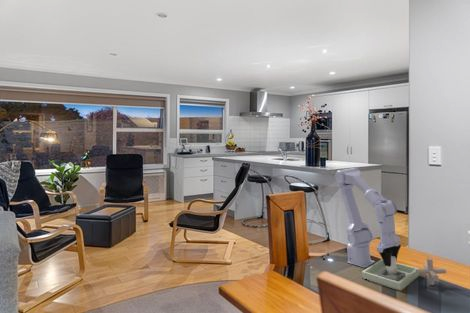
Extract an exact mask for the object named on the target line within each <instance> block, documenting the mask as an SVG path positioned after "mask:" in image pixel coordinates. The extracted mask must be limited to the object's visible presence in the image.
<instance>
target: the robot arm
mask: <svg viewBox="0 0 470 313" xmlns="http://www.w3.org/2000/svg"><path fill="white" fill-rule="evenodd" d="M334 179H335V183H336V185H337V188H338V189H339V191H340V195H341V199H342V201H343V205H344V207H345V211H346V214H347V218H348V221H349V226H348V228H347V229H346V234H347V235H346V236H347V241H348V244H347V245H346V246H347V247H346V251H347V252H346V253H347V263H348V264H351V265H354V266H358V267H361V268H365V269H367V268H368V267H370V266H371V265H373V264H375V263H376V261H375V260H372V259H371V250H370V245H371V242H372V241H373V233H372V231H371V229H370V228H369V225H368V224H366V223H364V222H363V221H362V218H361V214H360V211H359V208H358V205H357V204H358V203H357V201H356V198H355V195H354V192H353V188H354V186H355V187H357V188H358V189H359V191H361V192H362V193H363V194H364V198H365V200H366V201H367V202H368V203H369V204H370V205H371V206H372V207H373V210H374V211H373V212H374V213H375V216H376V219H377V221H378V227H379V238H380V242H379V243H378V245H377V246H376V252H377V253H378V254H379V255H380V257H381V259H383V262H384V264H385V266H389V267H390V266H391V256H395V257H396V261H397V260H398V255H399V251H400V249H401V246H402V245H401V244H400V242H401V237H400V236H397V233H396V226H395V225H396V223H395V215H397V212H398V209H397V208H398V207H397V206H396V204H395V203H394V202H395V201H393V200H389V199H387V198H386V197H384V196H383V195H382V194H381V193H380V192H379V191H378V190H377V189H375V188H371V187H370V185H369V184H368V183H367V182H366V181H365V179H364V178H363V177H362V171H360V170H359V168H358V167H356V166H355V167H351V168H345V169H344V168H343V169H338V170H336V173H335V175H334Z"/></svg>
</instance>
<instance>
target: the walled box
mask: <svg viewBox="0 0 470 313" xmlns="http://www.w3.org/2000/svg"><path fill="white" fill-rule="evenodd" d="M416 269H420V268H418V267H416V266H411V265H407V264H403V263H400V262H397V270H398V273H396V274H389V273H387V269H386V266H385V264H384V262H383V259H382V258H381V259H379V260H378V261H375V262H374V263H373V264H371V265H369V266H368V267H366V268H365V269H363V270H362V271H361V278H362V277H363V278H366V279H368V280H369V281H368V280H367V281H368V282H372V283H375V284H378V285H381V286H384V287H387V288H389V289H392V290H396V291H400V292H401V291H402V290H404V289H405V288H406V287H408V285H411V284H412V283H413V282H414V281H416V279H418V278H419V277H421V274H417V273H416Z"/></svg>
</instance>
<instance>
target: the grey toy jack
mask: <svg viewBox="0 0 470 313" xmlns="http://www.w3.org/2000/svg"><path fill="white" fill-rule="evenodd" d="M416 273H417V274H420V275H428V284H429V285H431V286H435V281H437V280H439V279H440V278H439V276H438V274H447V270H446V268H444V267H443V268H434V259H433V258H432V257H427V258H426V263H423V268H419V269H416Z"/></svg>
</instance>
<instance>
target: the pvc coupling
mask: <svg viewBox="0 0 470 313" xmlns="http://www.w3.org/2000/svg"><path fill="white" fill-rule="evenodd" d="M397 263H398V262H397V261H396V257H395V256H391V266H390V267H389V266H386V269H387V273H389V274H396V273H398V270H397Z"/></svg>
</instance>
